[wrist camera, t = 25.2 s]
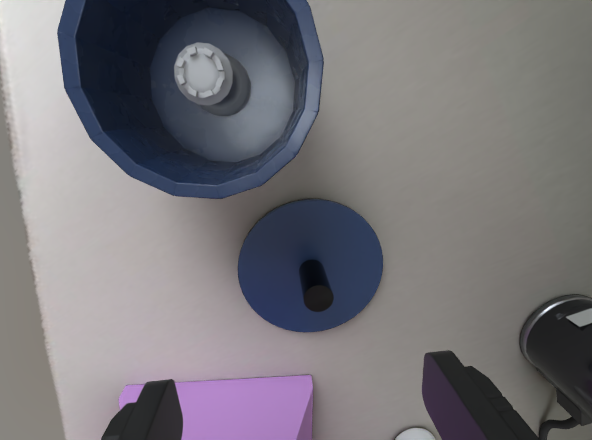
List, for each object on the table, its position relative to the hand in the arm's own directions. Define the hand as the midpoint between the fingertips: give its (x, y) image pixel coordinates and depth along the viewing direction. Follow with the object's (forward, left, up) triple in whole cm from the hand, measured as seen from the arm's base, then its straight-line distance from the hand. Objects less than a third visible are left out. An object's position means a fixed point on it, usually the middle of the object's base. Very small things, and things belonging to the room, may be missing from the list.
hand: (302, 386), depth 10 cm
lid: (-6, -1, -19) cm, 20 cm away
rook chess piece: (+11, +1, -19) cm, 22 cm away
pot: (+11, +1, -19) cm, 22 cm away
